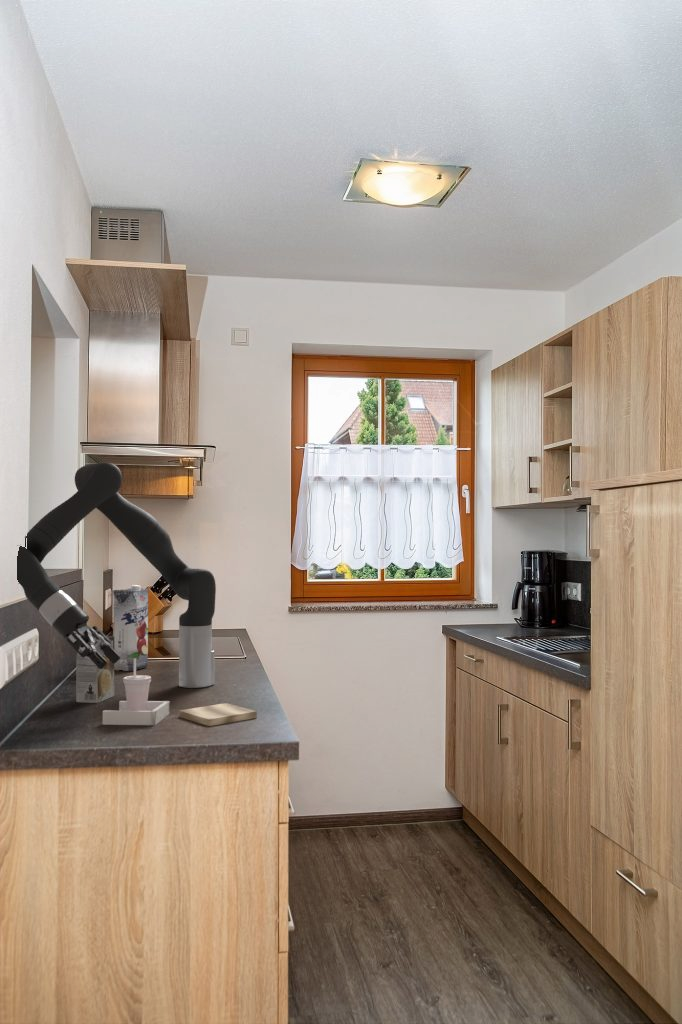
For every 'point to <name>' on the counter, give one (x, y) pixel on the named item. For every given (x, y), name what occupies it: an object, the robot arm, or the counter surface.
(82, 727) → the counter surface
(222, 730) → the counter surface
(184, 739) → the counter surface
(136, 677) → the smoothie
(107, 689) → the coffee box
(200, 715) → the brass board
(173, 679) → the counter surface
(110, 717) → the frame
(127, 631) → the juice carton
